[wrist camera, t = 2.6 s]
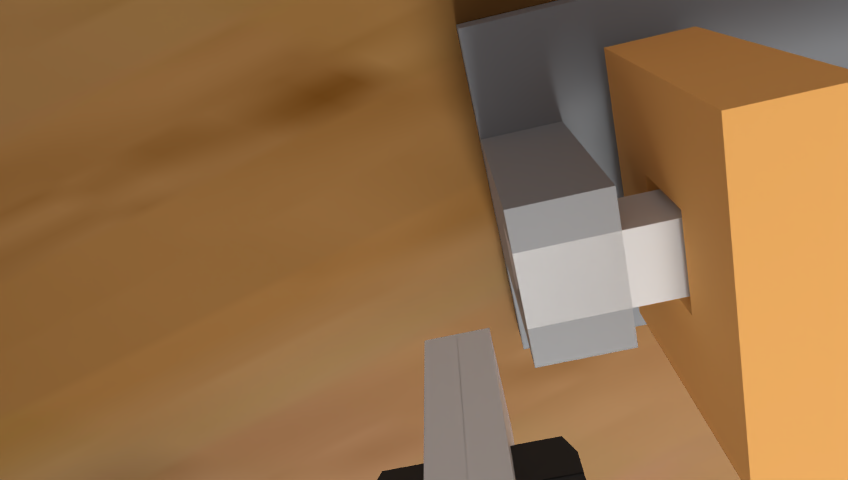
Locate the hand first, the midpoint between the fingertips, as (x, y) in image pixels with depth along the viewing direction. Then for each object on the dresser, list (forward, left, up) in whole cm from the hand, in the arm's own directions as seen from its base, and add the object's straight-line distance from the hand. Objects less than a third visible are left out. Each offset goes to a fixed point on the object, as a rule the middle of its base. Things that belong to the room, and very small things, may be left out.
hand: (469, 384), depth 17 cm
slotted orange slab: (+8, 0, -10) cm, 13 cm away
